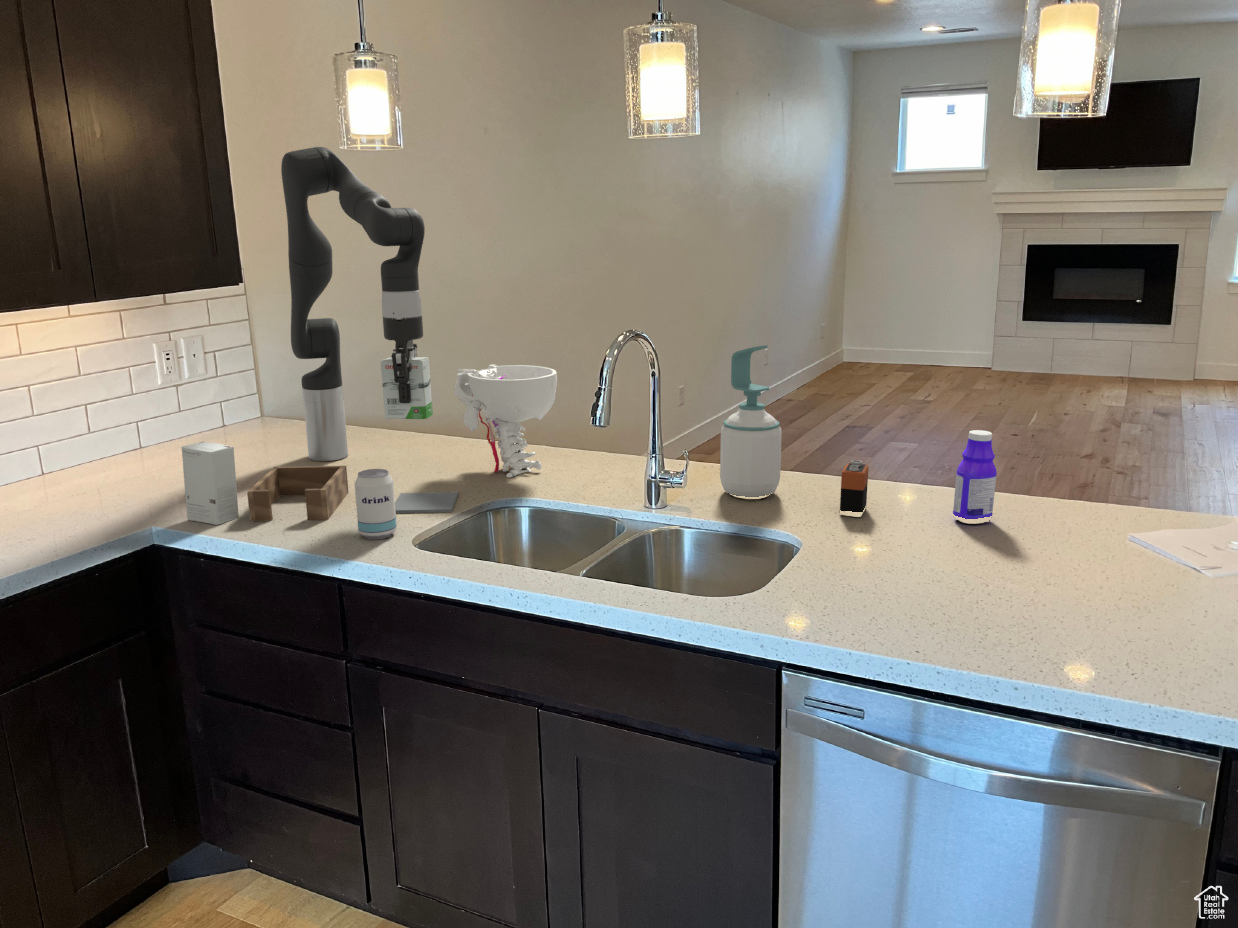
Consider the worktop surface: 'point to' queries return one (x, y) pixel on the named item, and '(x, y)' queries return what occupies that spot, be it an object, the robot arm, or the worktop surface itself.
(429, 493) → the mat
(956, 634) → the worktop surface
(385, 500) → the beverage can
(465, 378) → the skull
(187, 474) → the skincare box
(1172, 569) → the worktop surface
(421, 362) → the ink box
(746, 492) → the soap bottle
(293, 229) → the robot arm
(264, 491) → the crate
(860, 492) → the battery
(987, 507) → the bottle
